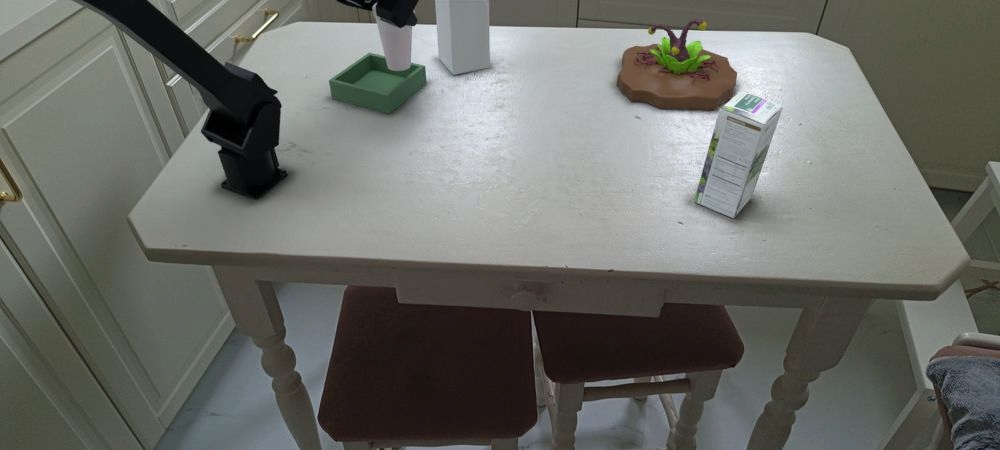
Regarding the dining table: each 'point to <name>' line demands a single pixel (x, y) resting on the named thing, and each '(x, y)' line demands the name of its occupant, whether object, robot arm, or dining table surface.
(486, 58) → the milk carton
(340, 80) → the caddy
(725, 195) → the syrup box
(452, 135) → the dining table surface
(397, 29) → the smoothie
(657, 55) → the plant
